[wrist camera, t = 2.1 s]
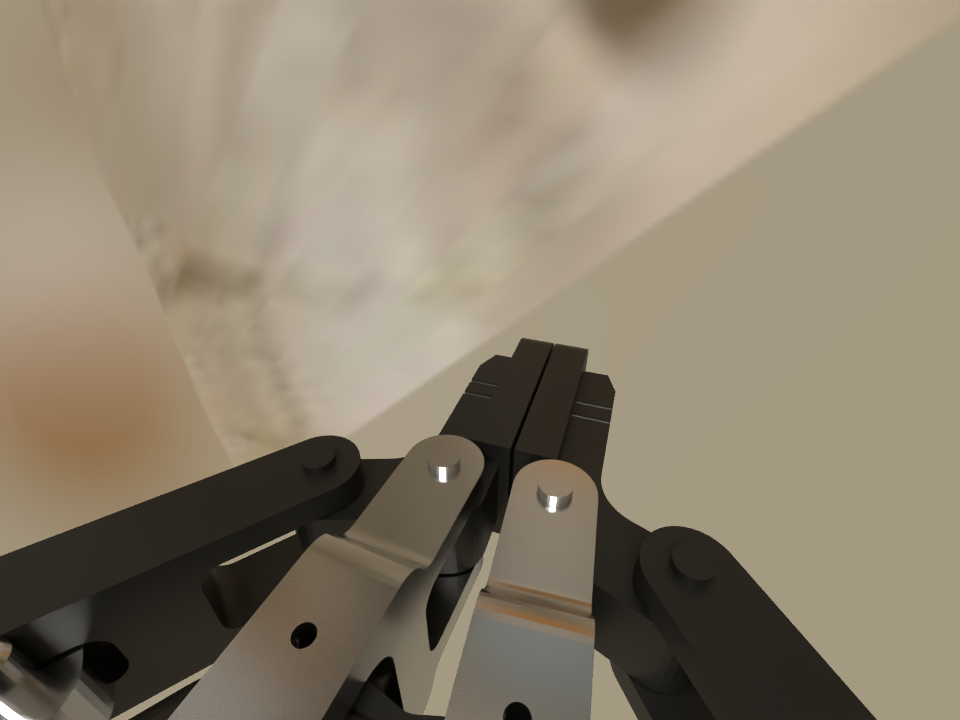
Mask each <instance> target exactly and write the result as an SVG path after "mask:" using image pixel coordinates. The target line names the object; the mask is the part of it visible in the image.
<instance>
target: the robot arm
mask: <svg viewBox="0 0 960 720" xmlns="http://www.w3.org/2000/svg"><path fill="white" fill-rule="evenodd" d="M587 357H588V349H584V348H578V347H573V346H567V345H561V344H556V345H555V346H554V344H553V343H548V342H543V341H538V340H531V339H526V338H522V339H521V340H520V342H519V344H518V346H517V348H516V350H515V352H514V354H513V356H512V358H511V357H505V356H500V355H495V356H494V357H492V358H491V359H489V360H487V361H486V362H484V363H483V364H481V365H480V367H479V368H478V370H477V372H476V373H475V375H474V377H473V378H472V382H470V383H469V385H468V387H467V388H466V390H465V394H463V395H462V397H461V398H460V400H459V402H458V403H457V405H456V407H455V409H454V410H453V412H452V414H451V415H450V417H449V419H448V420H447V422H446V424H445V425H444V427H443V429H442V430H441V432H440V434H439V435H438V436H433V437H429V438H427V439H424V440H423V441H421V442H419V443H418V444H416V445H415V446H414V447H413V448H412V449H411V450H410V451H409V452H408V454H407V455H406V456H405V457H403V458H396V459H361V458H360V453H359V450H358V448H357V447H356V446H355V444H354V443H353V442H351V441H350V440H348V439H346V438H343V437H339V436H319V437H314V438H311V439H308V440H305V441H303V442H300V443H297V444H295V445H292V446H289V447H287V448H284V449H282V450H279V451H276V452H274V453H271V454H268V455H266V456H263V457H260V458H258V459H255V460H253V461H250V462H247V463H245V464H242V465H239V466H237V467H234V468H232V469H229V470H226V471H224V472H221V473H218V474H216V475H213V476H211V477H208V478H205V479H203V480H200V481H197V482H195V483H192V484H189V485H187V486H184V487H182V488H179V489H176V490H174V491H171V492H169V493H166V494H163V495H160V496H158V497H155V498H153V499H150V500H148V501H145V502H142V503H140V504H137V505H134V506H132V507H129V508H126V509H124V510H121V511H118V512H116V513H113V514H111V515H108V516H105V517H103V518H100V519H97V520H95V521H92V522H90V523H87V524H84V525H82V526H79V527H76V528H74V529H71V530H69V531H66V532H63V533H61V534H58V535H55V536H53V537H50V538H47V539H45V540H42V541H40V542H37V543H34V544H32V545H29V546H26V547H24V548H21V549H18V550H16V551H13V552H11V553H8V554H5V555H3V556H0V720H110V719H112V718H114V717H116V716H118V715H120V714H121V713H123V712H125V711H127V710H129V709H131V708H132V707H134V706H136V705H138V704H140V703H142V702H143V701H145V700H147V699H149V698H151V697H153V696H154V695H156V694H158V693H160V692H162V691H163V690H165V689H167V688H169V687H171V686H173V685H175V684H176V683H178V682H180V681H182V680H184V679H186V678H188V677H189V676H191V675H193V674H195V673H197V672H199V671H200V670H202V669H204V668H206V667H208V666H209V665H211V664H213V665H212V666H211V667H210V668H209V670H208V671H207V672H206V673H205V674H204V676H203V677H202V678H200V679H198V680H196V681H195V682H193V683H191V684H189V685H187V686H185V687H184V688H182V689H180V690H178V691H177V692H175V693H173V694H172V695H170V696H168V697H167V698H165V699H163V700H161V701H160V702H158V703H156V704H155V705H153V706H151V707H149V708H148V709H146V710H144V711H143V712H141V713H139V714H137V715H136V716H134V717H132V718H131V719H129V720H590V715H591V697H592V677H593V660H594V659H593V658H594V649H595V650H597V651H598V652H600V653H601V654H602V655H604V656H605V657H606V658H608V659H609V660H610V663H611V667H612V670H613V672H614V675H615V677H616V679H617V681H618V683H619V684H620V686H621V688H622V690H623V692H624V694H625V696H626V698H627V700H628V702H629V703H630V705H631V707H632V709H633V711H634V713H635V715H636V717H637V719H638V720H876V718H875V717H874V716H873V715H872V714H871V713H870V712H869V710H868V709H867V708H866V707H865V706H864V705H863V704H862V702H861V701H860V700H859V699H858V698H857V697H856V696H855V694H854V693H853V692H852V691H851V690H850V689H849V688H848V686H847V685H846V684H845V683H844V682H843V681H842V680H841V678H840V677H839V676H838V675H837V674H836V673H835V672H834V671H833V669H832V668H831V667H830V666H829V665H828V664H827V663H826V661H825V660H824V659H823V658H822V657H821V656H820V655H819V653H818V652H817V651H816V650H815V649H814V648H813V647H812V645H811V644H810V643H809V642H808V641H807V640H806V639H805V637H804V636H803V635H802V634H801V633H800V632H799V631H798V630H797V628H796V627H795V626H794V625H793V624H792V623H791V622H790V620H789V619H788V618H787V617H786V616H785V615H784V614H783V612H782V611H781V610H780V609H779V608H778V607H777V606H776V604H775V603H774V602H773V601H772V600H771V599H770V598H769V597H768V595H767V594H766V593H765V592H764V591H763V590H762V589H761V587H760V586H758V584H757V583H756V582H755V581H754V579H753V578H752V577H751V576H750V575H749V574H748V573H747V571H746V570H745V569H744V568H743V567H742V566H741V565H740V564H739V562H737V560H736V559H735V558H734V557H733V556H732V554H731V553H729V551H728V550H727V549H726V548H725V547H723V546H722V545H721V544H720V543H719V542H717V541H716V540H714V539H713V538H711V537H710V536H708V535H706V534H704V533H702V532H700V531H697V530H694V529H691V528H686V527H680V526H669V527H663V528H659V529H657V530H655V531H653V532H652V533H651V532H649V531H647V530H646V529H644V528H642V527H640V526H639V525H637V524H635V523H633V522H631V521H630V520H628V519H627V518H625V517H624V516H622V515H621V514H620V513H619V512H617V511H616V510H615V508H613V506H612V505H611V504H610V503H609V501H608V500H607V498H606V496H605V495H604V492H603V489H602V485H601V474H602V468H603V462H604V456H605V450H606V444H607V438H608V432H609V426H610V420H611V414H612V408H613V402H614V396H615V390H614V388H613V385H612V383H611V381H610V379H609V377H608V376H607V375H602V374H597V373H591V372H586V371H585V370H586V364H587ZM294 530H295V531H296V534H295V535H293V536H291V537H288V538H286V539H284V540H282V541H280V542H278V543H275V544H273V545H271V546H269V547H267V548H265V549H263V550H260V551H258V552H256V553H254V554H252V555H250V556H248V557H246V558H243V559H241V560H239V561H237V562H235V563H232V564H229V565H224V566H218V565H220V564H222V563H224V562H226V561H229V560H231V559H233V558H235V557H237V556H239V555H242V554H244V553H246V552H248V551H250V550H252V549H255V548H257V547H259V546H261V545H263V544H265V543H268V542H269V541H272V540H274V539H276V538H278V537H281V536H283V535H285V534H287V533H289V532H291V531H294ZM492 531H493V532H496V533H499V534H500V536H499V540H498V544H497V547H496V551H495V555H494V559H493V563H492V567H491V571H490V575H489V579H488V582H487V585H486V587H485V589H482V590H481V591H480V593H479V596H478V598H477V601H476V604H475V608H474V611H473V615H472V619H471V622H470V626H469V630H468V633H467V637H466V641H465V645H464V648H463V652H462V656H461V660H460V663H459V667H458V671H457V674H456V678H455V682H454V686H453V690H452V693H451V697H450V701H449V705H448V708H447V712H446V715H445V717H443V716H430V715H423V713H424V710H425V708H426V705H427V702H428V699H429V696H430V693H431V690H432V685H433V681H434V676H435V672H436V668H437V665H438V662H439V660H440V657H441V655H442V652H443V650H444V648H445V646H446V644H447V641H448V639H449V637H450V635H451V633H452V631H453V628H454V626H455V624H456V622H457V620H458V618H459V615H460V613H461V611H462V609H463V607H464V604H465V602H466V600H467V598H468V595H469V594H470V591H471V589H472V587H473V585H474V583H475V580H476V578H477V576H478V574H479V572H480V570H481V567H482V563H483V554H484V552H485V549H486V547H487V544H488V541H489V539H490V536H491V533H492Z"/></svg>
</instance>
